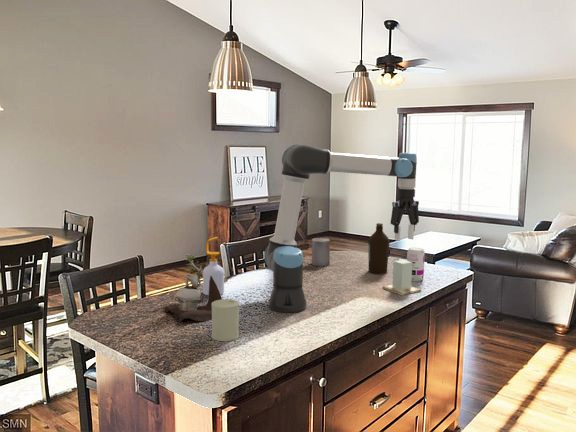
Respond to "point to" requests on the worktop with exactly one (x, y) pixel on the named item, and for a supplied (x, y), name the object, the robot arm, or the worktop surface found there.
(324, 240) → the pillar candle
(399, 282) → the tall mint green block
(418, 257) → the supplement can
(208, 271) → the soap bottle
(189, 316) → the potted plant
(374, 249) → the olive oil
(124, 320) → the worktop surface
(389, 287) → the post base
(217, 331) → the can
